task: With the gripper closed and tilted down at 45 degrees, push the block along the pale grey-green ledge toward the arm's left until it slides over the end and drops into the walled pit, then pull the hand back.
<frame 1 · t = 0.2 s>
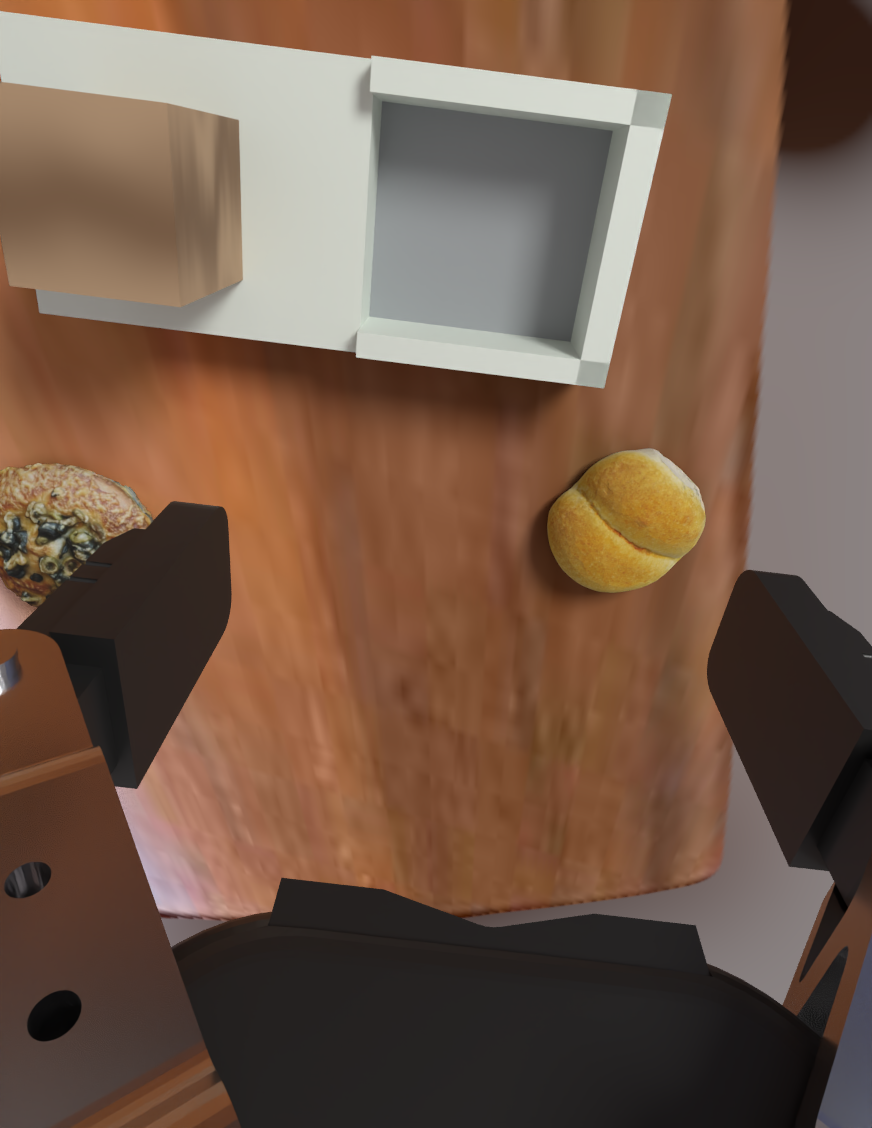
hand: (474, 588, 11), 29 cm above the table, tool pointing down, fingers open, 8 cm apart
bread roll: (621, 511, 42), on the table
pit: (494, 230, 35), on the table
bread roll 2: (80, 530, 45), on the table
ledge: (217, 195, 35), on the table
block: (170, 194, 32), point 3 cm above the table, touching ledge
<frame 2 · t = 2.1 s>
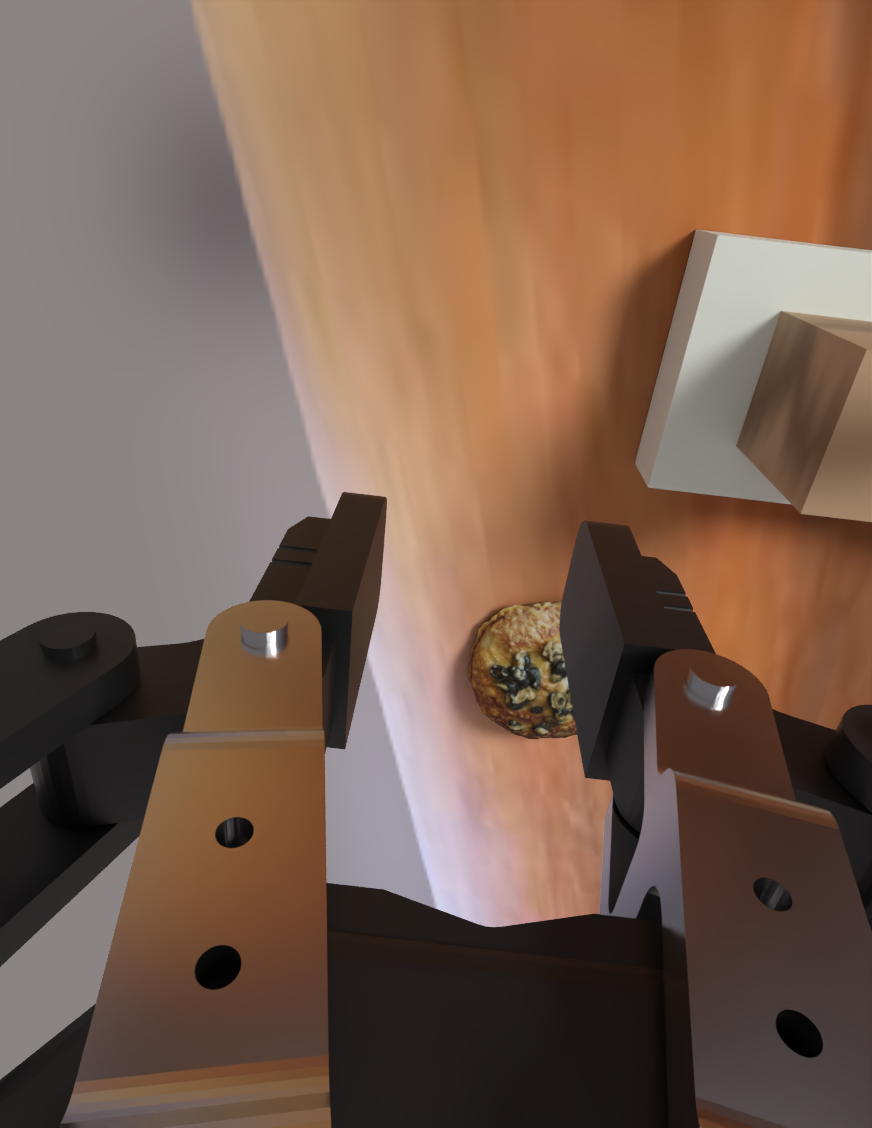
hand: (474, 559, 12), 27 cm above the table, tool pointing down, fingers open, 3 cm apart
bread roll 2: (549, 656, 47), on the table
ledge: (814, 373, 36), on the table
block: (824, 389, 33), point 3 cm above the table, touching ledge
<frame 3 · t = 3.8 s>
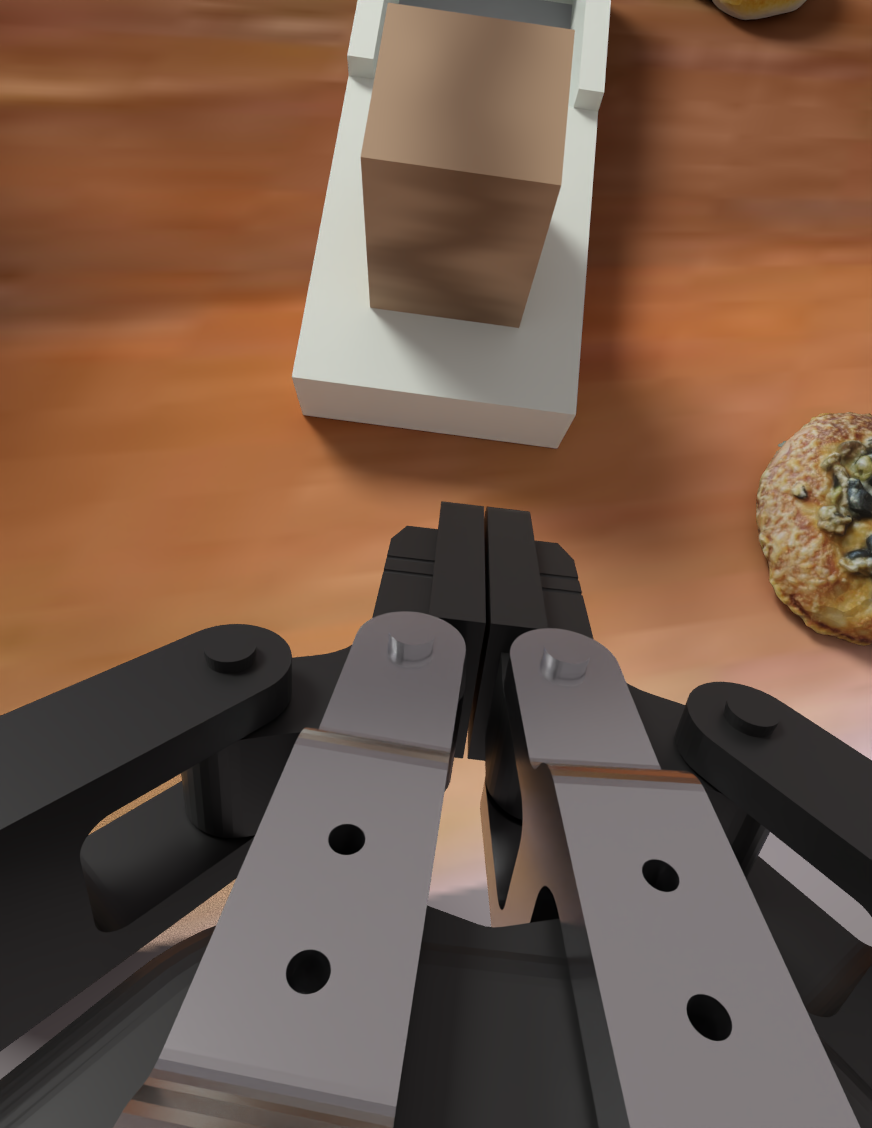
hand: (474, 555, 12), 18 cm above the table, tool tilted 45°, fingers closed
pit: (478, 64, 38), on the table
bread roll 2: (849, 535, 33), on the table
ledge: (449, 284, 34), on the table
block: (453, 254, 31), point 3 cm above the table, touching ledge
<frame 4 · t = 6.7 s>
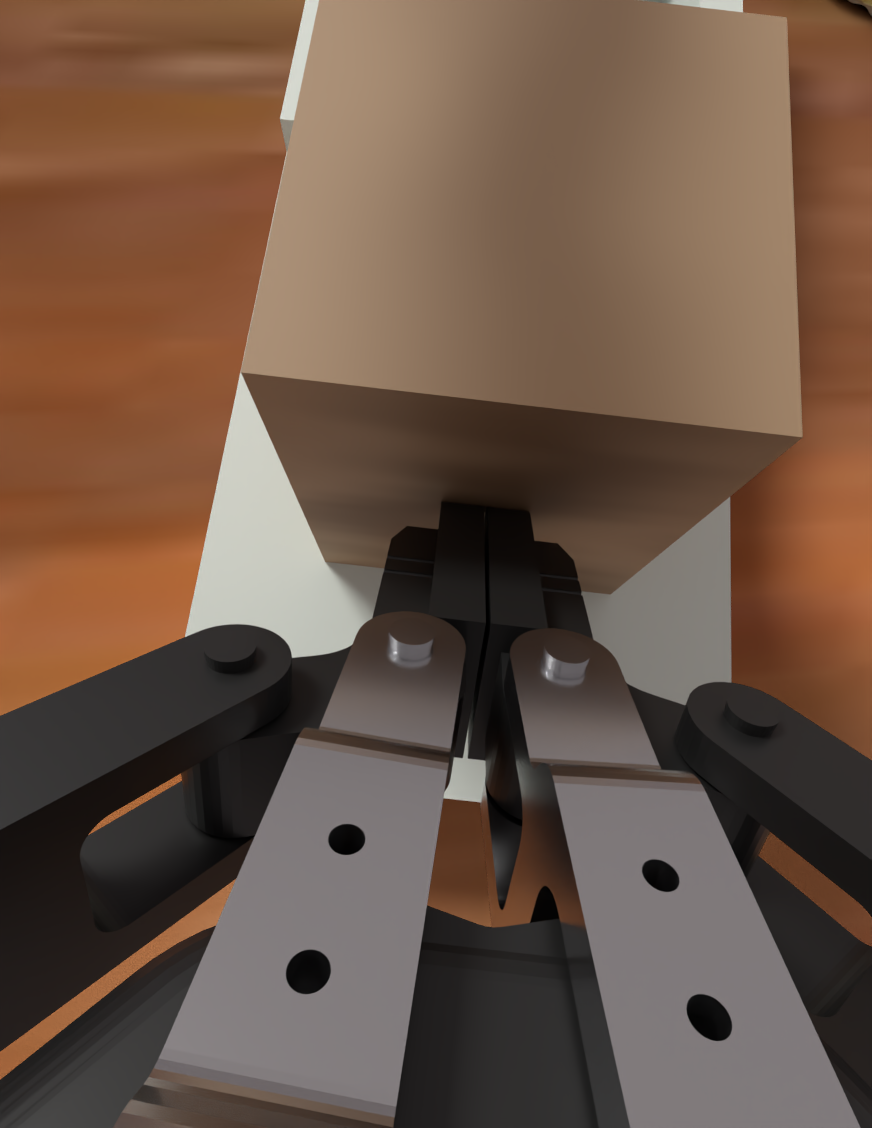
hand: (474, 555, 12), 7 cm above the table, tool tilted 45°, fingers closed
pit: (508, 118, 24), on the table
ledge: (469, 499, 20), on the table
block: (480, 447, 17), point 4 cm above the table, touching gripper
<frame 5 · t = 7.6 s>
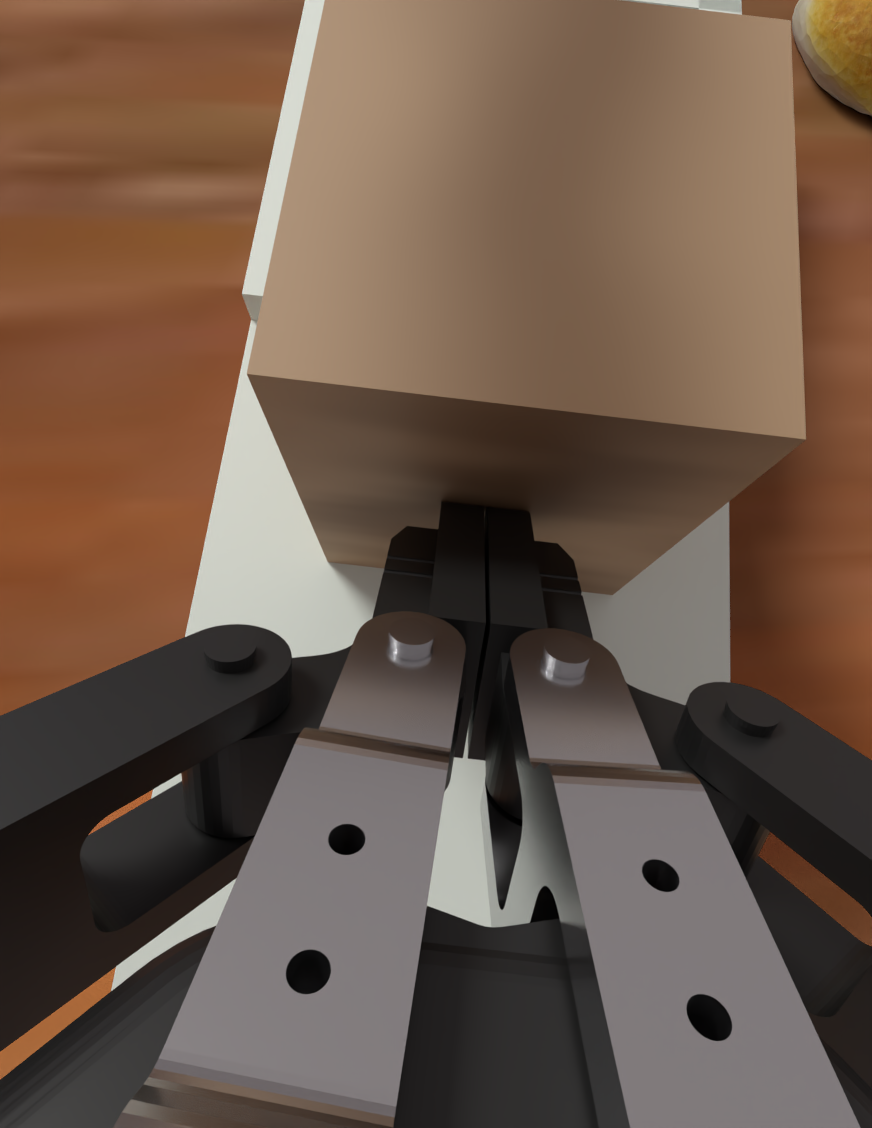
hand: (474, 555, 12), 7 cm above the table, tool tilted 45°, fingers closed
pit: (494, 246, 22), on the table
ledge: (449, 682, 19), on the table
block: (483, 447, 17), point 4 cm above the table, touching gripper
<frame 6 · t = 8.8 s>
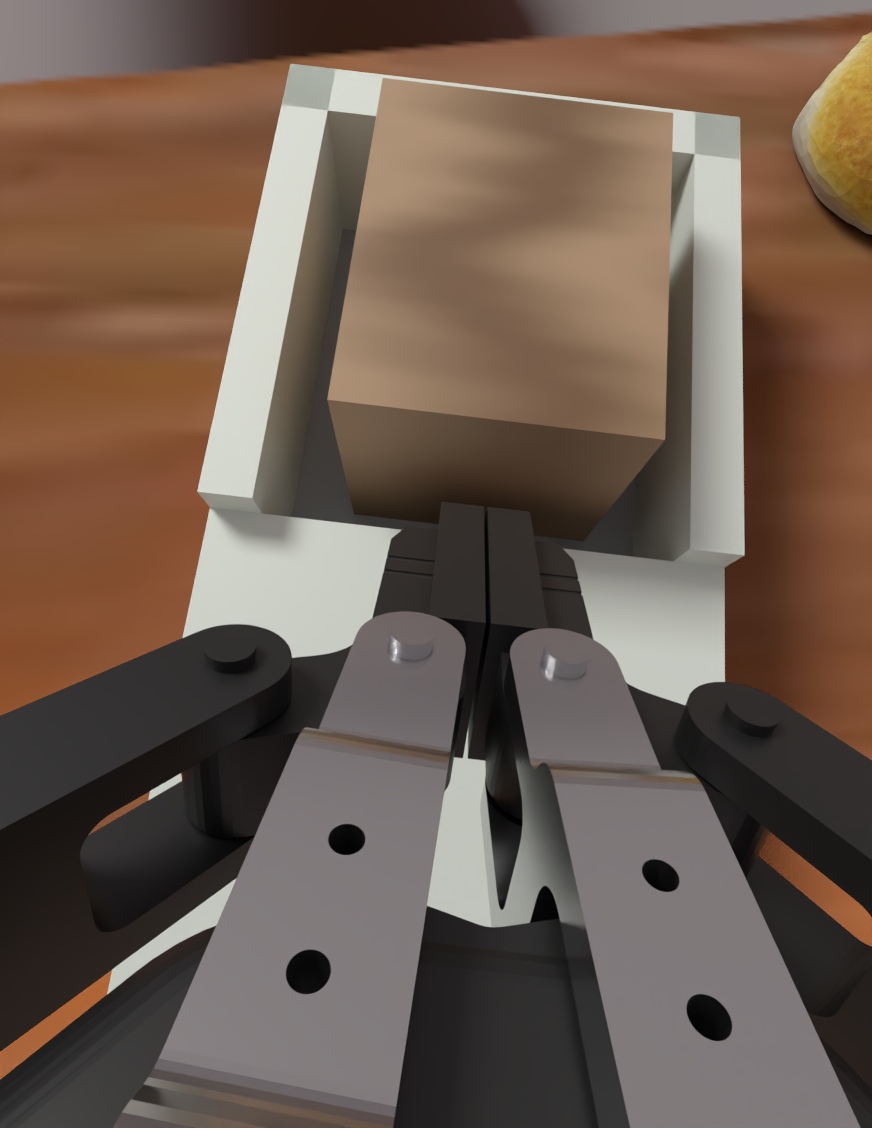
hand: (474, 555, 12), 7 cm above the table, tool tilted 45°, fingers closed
pit: (477, 385, 21), on the table
ledge: (425, 884, 17), on the table
block: (479, 484, 16), point 4 cm above the table, tilted 90°, touching pit
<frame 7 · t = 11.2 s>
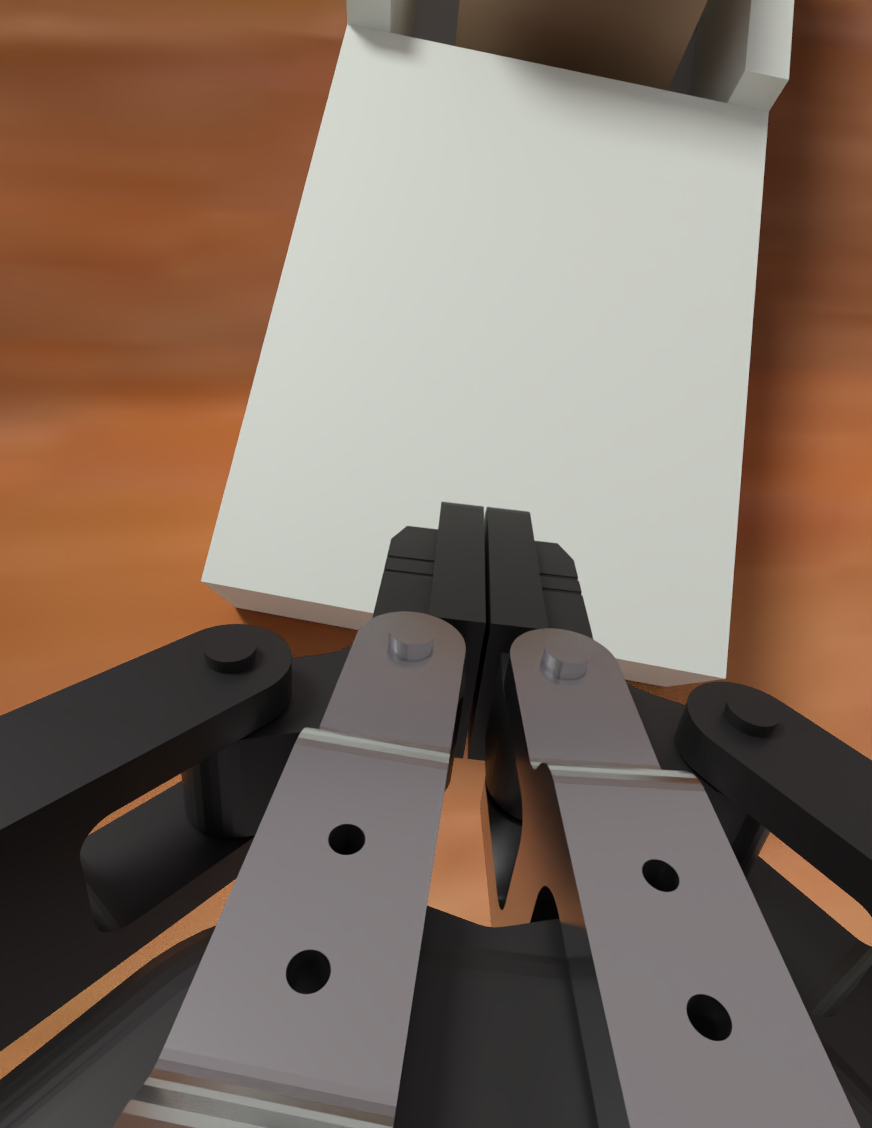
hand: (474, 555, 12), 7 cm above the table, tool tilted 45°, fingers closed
pit: (558, 24, 24), on the table
ledge: (496, 385, 21), on the table
block: (571, 30, 20), point 4 cm above the table, tilted 90°, touching pit
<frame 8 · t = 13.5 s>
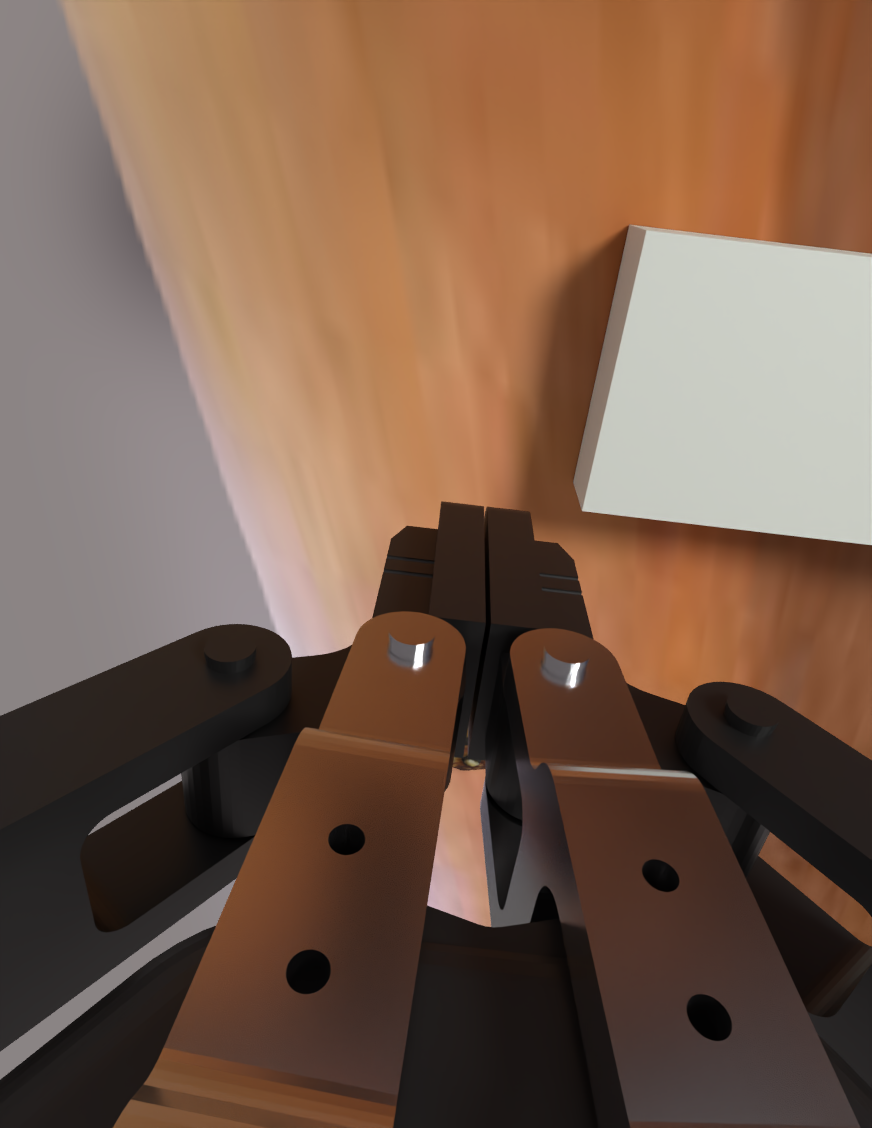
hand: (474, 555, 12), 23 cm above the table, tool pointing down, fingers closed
bread roll 2: (483, 680, 43), on the table
ledge: (766, 385, 33), on the table
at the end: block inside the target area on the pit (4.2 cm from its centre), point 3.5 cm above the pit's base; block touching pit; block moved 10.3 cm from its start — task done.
